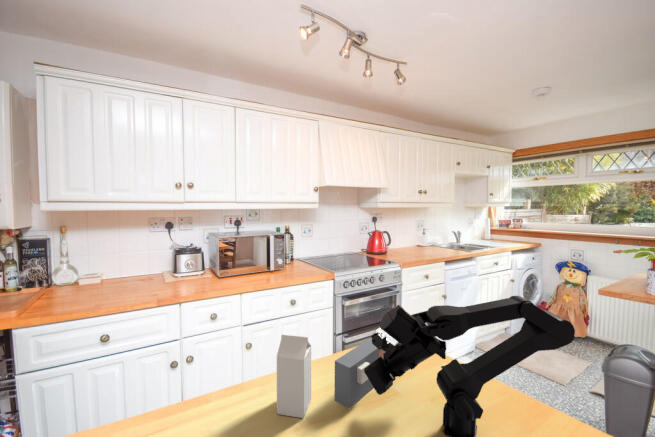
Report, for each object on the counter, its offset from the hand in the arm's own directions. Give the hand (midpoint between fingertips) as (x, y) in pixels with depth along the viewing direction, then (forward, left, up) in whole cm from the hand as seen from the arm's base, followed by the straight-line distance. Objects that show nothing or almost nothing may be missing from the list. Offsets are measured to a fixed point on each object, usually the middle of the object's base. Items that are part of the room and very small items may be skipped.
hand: (372, 377), depth 76 cm
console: (+5, -7, -8) cm, 11 cm away
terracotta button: (+3, -12, -2) cm, 12 cm away
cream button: (+3, -1, -2) cm, 4 cm away
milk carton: (+17, +11, -8) cm, 22 cm away
